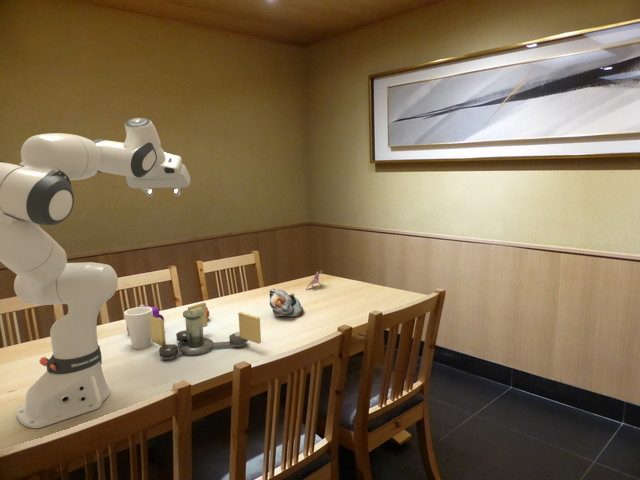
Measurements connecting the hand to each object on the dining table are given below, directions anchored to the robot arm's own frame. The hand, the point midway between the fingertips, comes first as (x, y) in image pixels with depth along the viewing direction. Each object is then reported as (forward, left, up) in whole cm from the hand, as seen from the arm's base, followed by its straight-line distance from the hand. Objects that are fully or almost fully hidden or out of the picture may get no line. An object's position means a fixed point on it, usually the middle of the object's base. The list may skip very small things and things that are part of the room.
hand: (164, 195), depth 157 cm
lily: (+83, +5, -54) cm, 99 cm away
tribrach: (+1, -10, -54) cm, 55 cm away
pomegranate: (+19, +13, -54) cm, 59 cm away
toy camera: (-1, +19, -54) cm, 57 cm away
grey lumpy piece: (+45, -11, -54) cm, 71 cm away
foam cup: (-9, +9, -54) cm, 55 cm away
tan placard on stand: (+12, -24, -52) cm, 59 cm away
